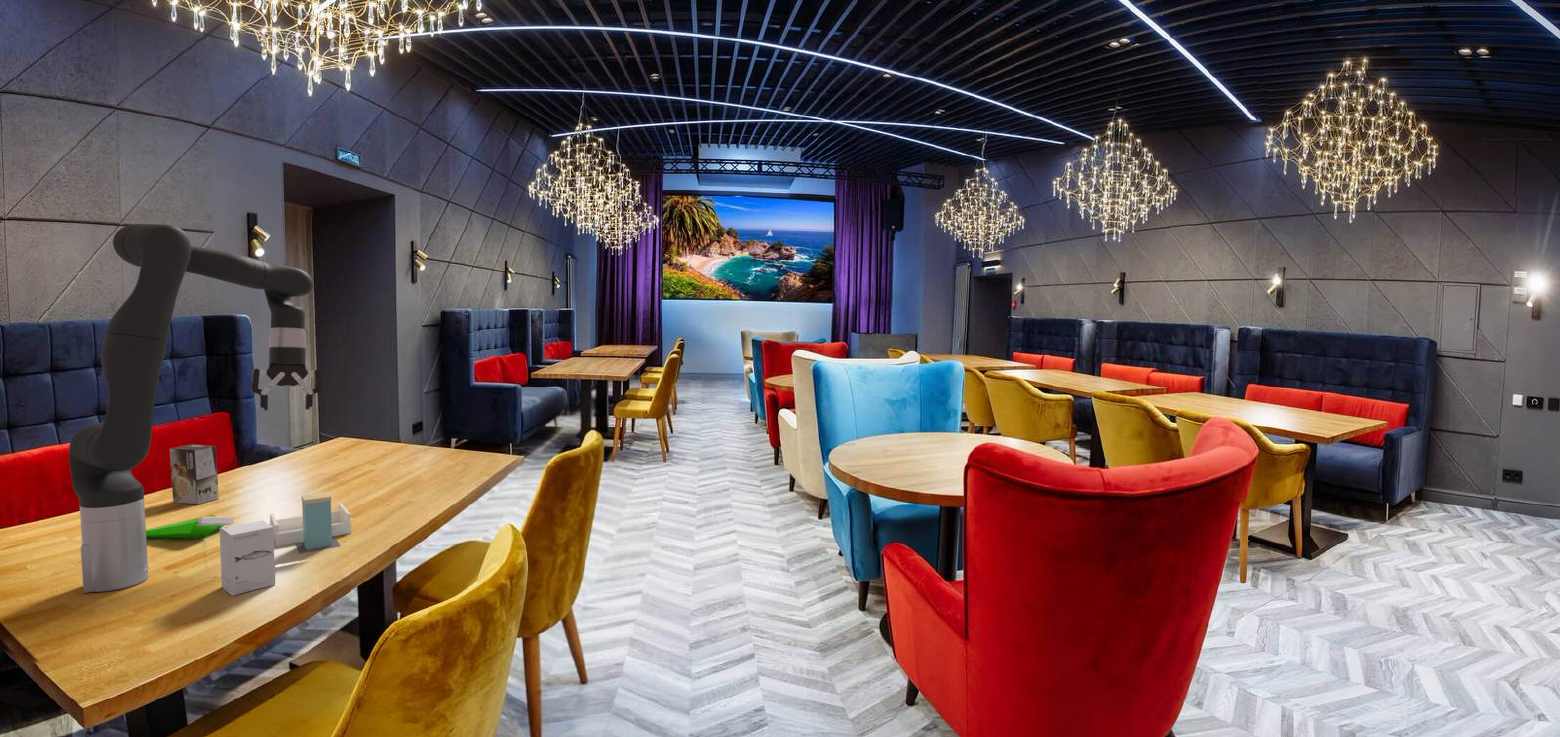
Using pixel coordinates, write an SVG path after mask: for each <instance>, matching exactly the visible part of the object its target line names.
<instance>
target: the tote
mask: <svg viewBox="0 0 1560 737" xmlns="http://www.w3.org/2000/svg"><path fill="white" fill-rule="evenodd" d="M269 524H270V525H271V526H273V527H274V546H275V547H281V546H286V545H292V544H298V543H304V539H303V515H298V516H292V517H291V516H290V517H285V518H278V519H276V517H275V515H274V513H273V512H272V513H271V512H270V513H269ZM331 525H332V537H337V536H344V535H350V534H352V522H351V513H350V511H349V510H348V509H347V507H346V506H345V505H344V504H343V503H342V502H339V503H338V509H337V510H336V509H335V510H331Z"/></svg>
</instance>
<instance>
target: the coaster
mask: <svg viewBox="0 0 1560 737" xmlns="http://www.w3.org/2000/svg"><path fill="white" fill-rule="evenodd" d="M294 545H295V547H296V549H297V551H298V553H299V554H301V555H302V554H306V553H311V552H316V551H320V550H328V549H332V548H339V547H341V544H340V542H339V541H338V539H337V538H336V536H333V537H332V545H331V546H326V547H320V548H315V549H309V550H306V548H305V546H304V542H299V543H294Z"/></svg>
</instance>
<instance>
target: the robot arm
mask: <svg viewBox="0 0 1560 737" xmlns="http://www.w3.org/2000/svg"><path fill="white" fill-rule="evenodd" d="M112 245H113V249H114V251H115V253H116V255H117V256H118V257H119V258H120V259H121V260H123V261H125V262H126V263H127V264H131V266H135V267H139V273H138V278H137V282H136V284H135V287H134V289H133V290H132V292H131V293H130V294H129V296H128V298H126V300H125V301H124V302H123V303H122V305H121V306H120V307H119V308H118V309H117V310H116V312H115V313H114V314H113V316H112V317H111V319H110V320H109V322H108V324H107V327H106V329H105V334H104V337H103V338H104V339H103V342H102V347H101V352H100V353H101V354H100V362H101V368H102V373H103V376H104V380H105V384H106V389H107V393H108V395H107V396H108V402H107V408H106V413H105V416H104V417H105V418H104V419H103V420H104V421H103V422H97V423H96V422H95V423H90V424H88V425H87V424H86V425H85V426H83V427H81V428H80V429H79V430H78V431H77V432H75V434H74V435H73V436H72V437H71V440H70V443H69V447H68V459H69V468H70V475H71V476H70V478H71V482H72V483H71V484H72V485H71V486H72V487H73V491H74V492H75V494H76V496H77V497H78V502H79V515H80V517H79V518H80V531H81V533H80V534H81V545H80V557H81V558H80V559H81V573H82V574H81V575H82V578H81V579H82V591H83V594H86V593H87V594H88V593H93V592H94V593H98V592H99V593H100V592H101V593H102V592H109V591H114V590H115V591H116V590H120V589H126V588H128V587H133V586H135V585H138V584H141V583H144V582H145V581H146V580H147V579H149V563H148V562H149V561H148V544H147V538H146V530H147V526H146V509H145V493H144V492H145V491H144V490H145V488H144V486H143V484H142V483H141V482H140V481H138V480H137V478H135V476H134V475H133V473H132V471H131V470H132V469H133V468H134V469H135V467H137V466H138V465H140V464H141V463H142V462H143V461H144V460H145V459H146V457H147V455H148V454H149V452H150V448H151V445H152V444H151V443H152V434H153V433H152V432H153V431H152V430H153V421H154V420H153V418H154V407H155V406H154V405H155V399H156V396H157V390H158V385H159V381H160V380H159V379H160V374H161V370H162V365H163V362H164V358H165V352H166V349H167V343H168V339H169V333H170V326H171V322H172V319H173V314H174V311H175V305H176V300H177V297H178V293H179V290H180V287H181V285H182V282H183V280H184V277H185V274H186V273H190V274H195V275H200V276H203V277H207V278H211V279H215V280H218V281H222V282H226V283H231V284H234V285H238V286H242V287H246V288H251V289H255V290H263V291H264V294H265V298H266V301H267V305H268V307H269V310H270V330H269V331H270V332H269V338H268V341H269V342H268V367H267V369H259V368H254V369H253V371H252V376H251V377H252V378H251V387H250V388H251V389H250V392H251V393H253V394H258V395H259V397H260V399H259V402H260V403H259V407H260V409H263V411H268V410H269V409H268V407H269V405H268V403H269V402H268V401H269V399H268V398H269V395H268V394H269V392H270V391H271V390H272V389H274V387H275V386H278V387H285V386H288V387H296V386H298V387H299V388H301V390H303V391H304V393H305V394H306V395H304V398H305V402H304V404H305V405H304V410H305V411H306V410H308V411H309V410H310V408H313V399H314V397H313V396H314V395H315V394H317V393H320V392H322V390H323V389H322V375H321V370H320V369H312V370H308V369H307V367H306V360H307V358H306V355H307V354H306V352H307V349H306V348H307V338H306V331H305V329H306V313H305V310H304V308H302V307H300V306H296V305H294V304H293V301H292V297H296V298H297V297H302V296H306V295H308V294H309V293H310V292H311V291H312V290H313V288H314V281H313V279H312V277H311V275H309V273H308V272H306V271H304V270H303V269H300V268H298V267H294V266H288V265H283V264H282V265H281V264H277V263H270V262H265V261H262V260H260V259H255V258H253V257H249V256H246V255H242V254H237V253H234V252H233V253H232V252H228V251H224V250H223V251H222V250H217V249H212V248H211V249H210V248H206V247H201V246H196V245H192V244H191V241H190V238H189V237H188V234H186V232H185V231H184V230H183V229H181V228H179V227H178V226H175V225H173V224H171V225H170V224H162V223H161V224H160V223H135V224H129V225H126V226H123V227H121V228H119V230H117V231H116V233H115V234H114V236H113V240H112ZM264 375H267V377H268V378H269V379H270V381H269V382H268V383H267V384H266V385H265V387H264V388H263V389H261V388H259V384H260V383H259V382H260V378H263V377H264ZM307 375H309V376H310V378H311V379H313V384H314V388H313V389H311V387H310V386H309V385H308V384H307V383H306V382H305V380H304V379H305V378H306V377H307Z"/></svg>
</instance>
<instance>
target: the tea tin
mask: <svg viewBox="0 0 1560 737" xmlns="http://www.w3.org/2000/svg"><path fill="white" fill-rule="evenodd" d="M331 502H332V495H331V494H330V493H329V492H328V491H325V492H317V493H311V494H310V493H309V494H302V495H301V503H302V504H301V508H302V516H303V539H304V542H303V543H304V546H305V548H306V550H309V549H315V548H320V547H326V546H331V545H332V525H331V511H332V503H331Z"/></svg>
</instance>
